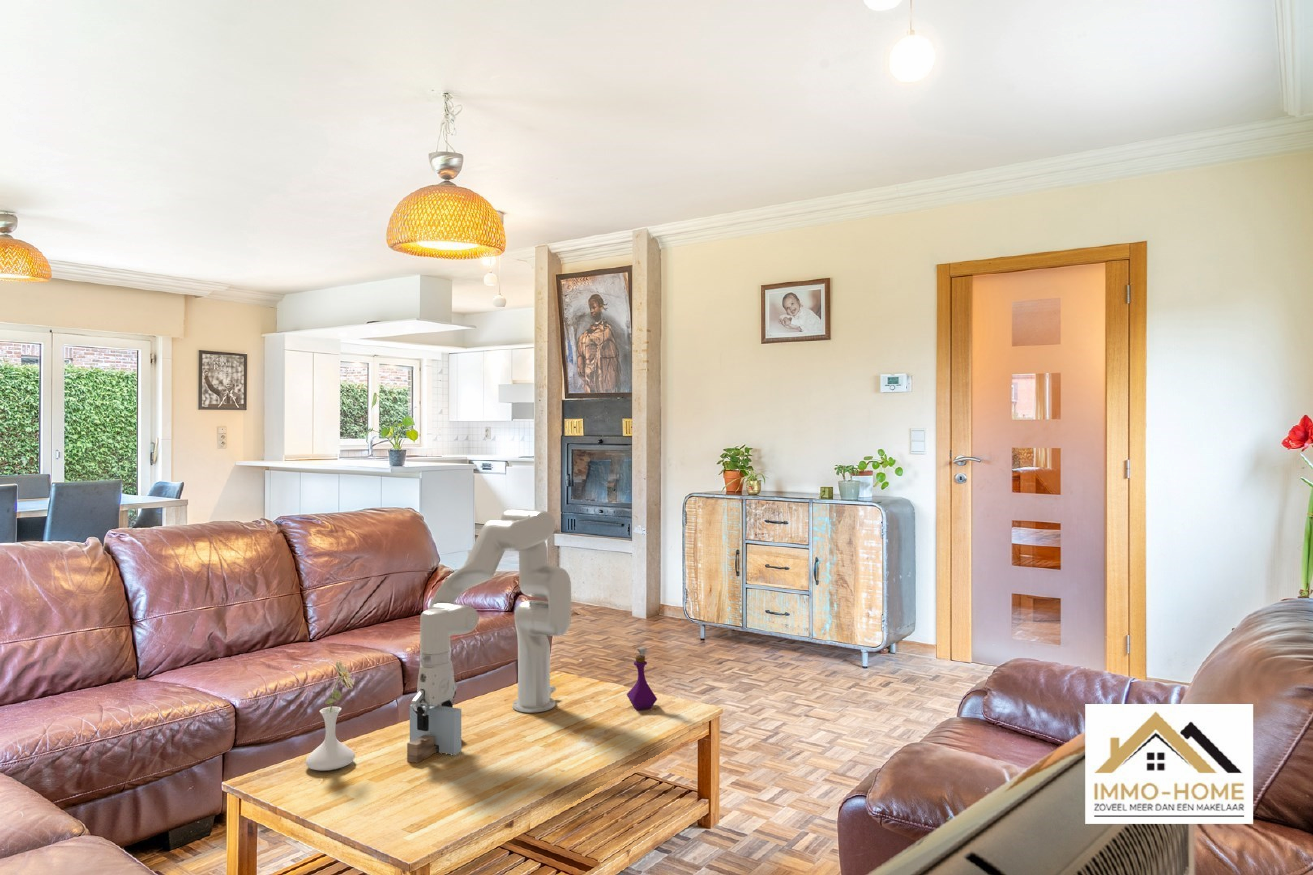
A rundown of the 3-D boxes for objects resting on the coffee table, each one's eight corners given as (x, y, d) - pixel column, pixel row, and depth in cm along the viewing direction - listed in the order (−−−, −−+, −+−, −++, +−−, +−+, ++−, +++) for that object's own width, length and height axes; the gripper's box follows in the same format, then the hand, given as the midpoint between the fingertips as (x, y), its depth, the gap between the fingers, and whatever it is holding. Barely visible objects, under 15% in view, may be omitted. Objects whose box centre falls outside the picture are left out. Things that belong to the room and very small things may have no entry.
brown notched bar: (452, 737, 225) (452, 720, 225) (461, 738, 224) (461, 722, 224) (407, 761, 208) (407, 743, 208) (416, 763, 207) (416, 744, 207)
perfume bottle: (626, 704, 253) (626, 645, 252) (650, 702, 255) (650, 643, 255) (633, 712, 245) (633, 651, 245) (657, 710, 248) (657, 649, 248)
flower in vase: (338, 776, 199) (338, 671, 199) (295, 773, 201) (295, 669, 201) (367, 756, 212) (367, 657, 212) (327, 752, 214) (327, 655, 214)
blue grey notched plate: (417, 743, 220) (417, 701, 220) (461, 751, 215) (461, 708, 215) (409, 747, 218) (409, 705, 218) (454, 755, 212) (454, 712, 212)
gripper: (425, 667, 207) (425, 737, 207) (467, 651, 223) (467, 715, 223) (401, 664, 210) (400, 732, 210) (444, 648, 226) (444, 712, 226)
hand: (435, 724), depth 216 cm, fingers open, 9 cm apart
